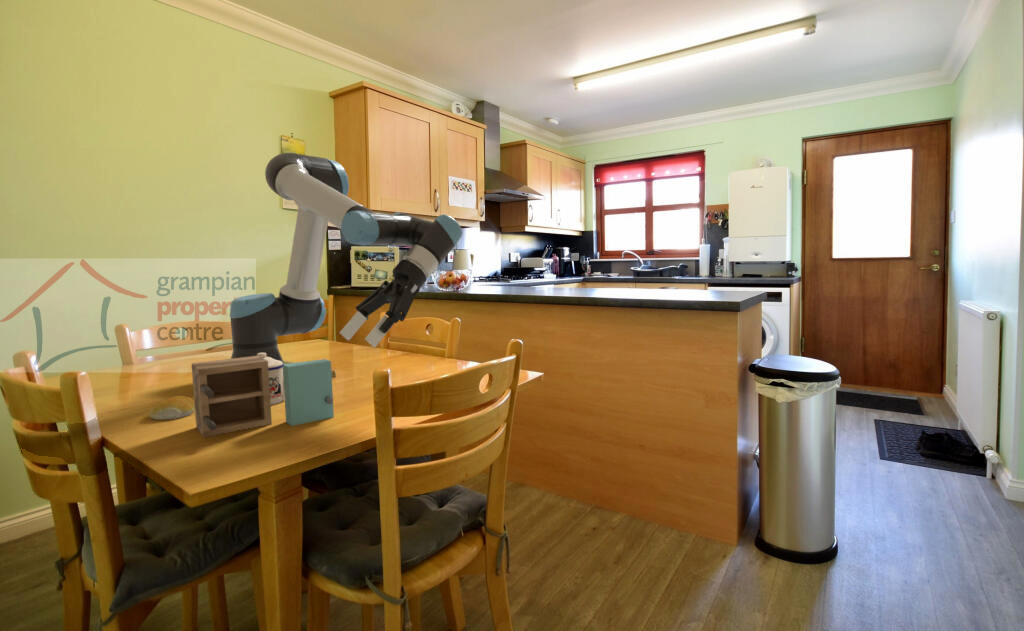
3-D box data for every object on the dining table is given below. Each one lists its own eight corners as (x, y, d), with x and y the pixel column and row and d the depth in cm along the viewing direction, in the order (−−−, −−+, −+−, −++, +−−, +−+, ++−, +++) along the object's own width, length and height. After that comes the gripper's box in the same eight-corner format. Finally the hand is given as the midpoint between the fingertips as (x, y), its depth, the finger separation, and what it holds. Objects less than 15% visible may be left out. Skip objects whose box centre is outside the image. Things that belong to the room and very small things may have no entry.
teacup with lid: (245, 409, 115) (242, 358, 114) (240, 400, 123) (237, 352, 122) (302, 401, 122) (299, 352, 121) (294, 393, 130) (291, 347, 128)
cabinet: (196, 427, 103) (191, 363, 102) (261, 415, 111) (257, 355, 109) (210, 446, 92) (205, 375, 91) (281, 432, 100) (277, 365, 98)
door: (286, 421, 106) (282, 364, 105) (327, 413, 112) (324, 358, 110) (292, 427, 103) (289, 367, 102) (335, 418, 108) (332, 361, 107)
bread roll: (200, 407, 118) (199, 390, 118) (189, 419, 110) (187, 400, 109) (158, 411, 116) (157, 393, 115) (143, 423, 107) (142, 404, 107)
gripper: (454, 281, 113) (394, 357, 105) (400, 279, 132) (346, 344, 124) (432, 257, 109) (368, 334, 101) (380, 258, 128) (322, 324, 120)
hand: (356, 340), depth 113 cm, fingers open, 13 cm apart
